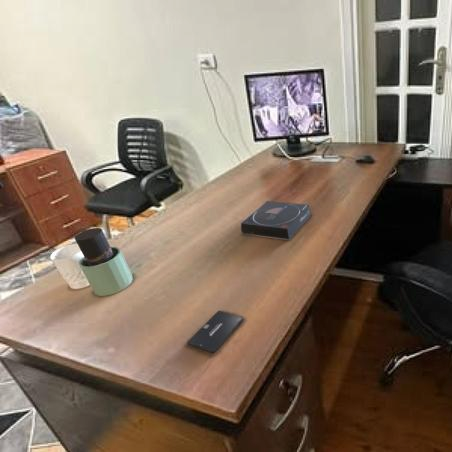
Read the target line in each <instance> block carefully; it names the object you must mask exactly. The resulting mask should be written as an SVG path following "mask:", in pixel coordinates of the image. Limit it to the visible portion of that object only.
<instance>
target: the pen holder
mask: <svg viewBox="0 0 452 452" xmlns="http://www.w3.org/2000/svg"><path fill="white" fill-rule="evenodd" d="M110 247H111V250H112V252H113V254H114V256H115V257H114V258H113V259H111V260H109V261H107V262H105V263H103V264H100V265H96V266H90V267H89V265H88V263H87V261H86V259H85V257H83V258H82V259H81V260H80V262H79V265H80V267H81V269H82V271H83V273H84V275H85V277H86V279H87V280H88V282H89V284H90V285H89V286H90V288H91V290H92V291H93V293H94V294H95V295H96V296H100V297H106V296H110V295H114V294H117V293H119V292H121V291H123V290H125V289H126V288H128V287H129V286H130V285H131V284H132V282H133V281H134V276H133V273H132V271H131V269H130V267H129V265H128V262H127V261H126V258H125V256H124V254H123V251H122V250H121V248H120V247H117V246H110Z"/></svg>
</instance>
